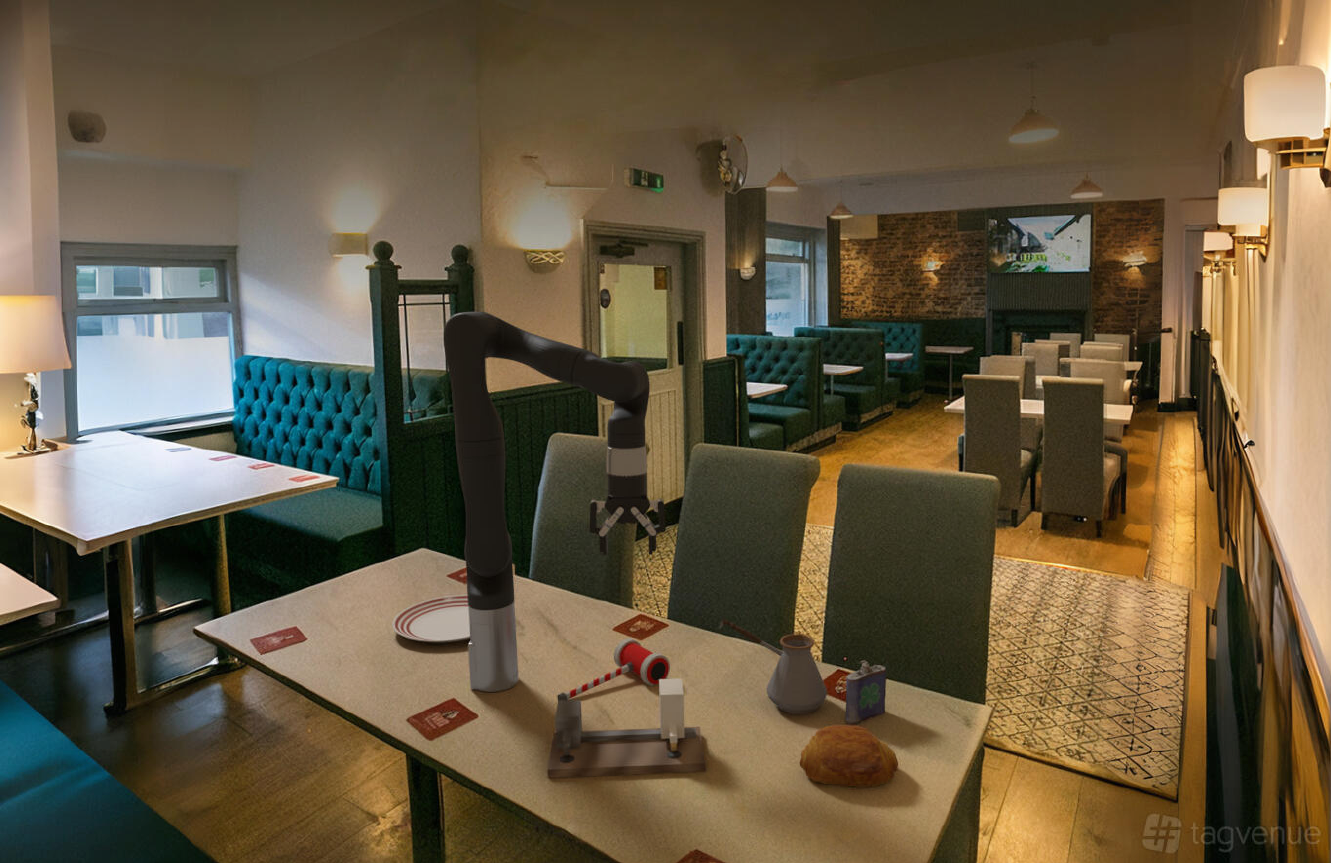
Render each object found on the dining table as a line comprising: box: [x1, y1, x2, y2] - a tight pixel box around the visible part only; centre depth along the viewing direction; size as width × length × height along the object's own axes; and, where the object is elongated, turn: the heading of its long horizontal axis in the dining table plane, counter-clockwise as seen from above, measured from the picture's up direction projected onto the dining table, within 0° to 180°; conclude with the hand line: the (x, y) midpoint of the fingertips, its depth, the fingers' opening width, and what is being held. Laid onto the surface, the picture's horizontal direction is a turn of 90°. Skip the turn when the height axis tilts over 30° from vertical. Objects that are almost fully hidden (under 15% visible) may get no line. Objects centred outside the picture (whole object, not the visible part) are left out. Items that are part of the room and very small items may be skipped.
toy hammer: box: [556, 637, 671, 702], centre depth 173 cm, size 23×12×6 cm, turn 127°
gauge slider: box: [658, 678, 685, 751], centre depth 148 cm, size 4×10×8 cm, turn 2°
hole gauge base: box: [546, 699, 707, 779], centre depth 146 cm, size 26×12×8 cm, turn 92°
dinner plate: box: [391, 594, 470, 643], centre depth 205 cm, size 27×27×3 cm
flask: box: [844, 659, 888, 726], centre depth 158 cm, size 9×3×11 cm, turn 121°
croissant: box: [799, 724, 899, 788], centre depth 141 cm, size 14×16×8 cm
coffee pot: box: [718, 618, 828, 715], centre depth 165 cm, size 21×12×15 cm, turn 65°
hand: (628, 553), depth 162 cm, fingers open, 8 cm apart
